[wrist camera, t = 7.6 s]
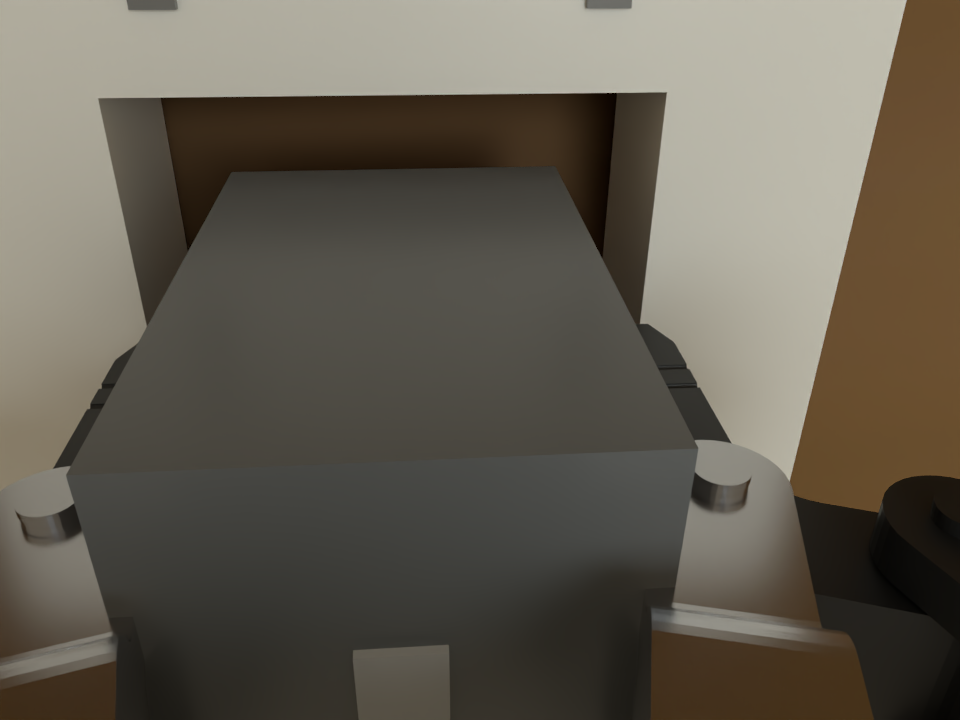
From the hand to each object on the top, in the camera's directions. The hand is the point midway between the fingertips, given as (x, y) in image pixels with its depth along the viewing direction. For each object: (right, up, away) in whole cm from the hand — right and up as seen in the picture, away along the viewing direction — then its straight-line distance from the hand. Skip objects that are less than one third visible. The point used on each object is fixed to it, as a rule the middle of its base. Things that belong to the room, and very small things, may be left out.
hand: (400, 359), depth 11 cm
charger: (0, 0, +1) cm, 1 cm away
